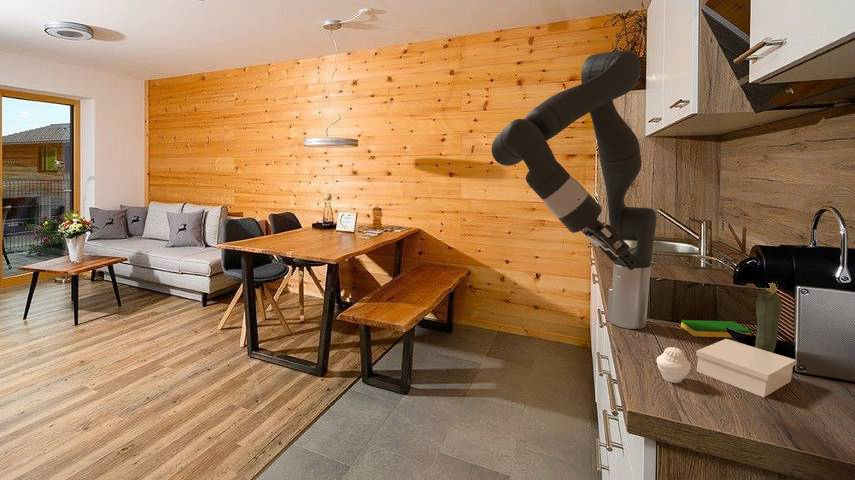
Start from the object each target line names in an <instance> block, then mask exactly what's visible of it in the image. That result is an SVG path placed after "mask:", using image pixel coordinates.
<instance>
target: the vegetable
mask: <svg viewBox="0 0 855 480" xmlns="http://www.w3.org/2000/svg"><path fill="white" fill-rule="evenodd" d="M768 284H769V286H770V288H766V287H765V289H764V291H762V292H761V293H760V294H759V295H758V296H757V298H756V303H755V317H756V321H757V322H756V323H757V325H756V326H757V328H756V330H757V331H756V334H755V335H756V336H755V344H754V345H755V346H754V347H755V348H758V349H762V350H765V351H768V352H771V353H774V352H775V349H776V346H777V340H778V332H779V324H780V320H781V315H782V307H783V306H782V305H783V304H782V303H783V302H782V299H781V296H780V295H779V294H778V293H777V290H778V287H776V284H775V283H773V282H772V283H768Z"/></svg>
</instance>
